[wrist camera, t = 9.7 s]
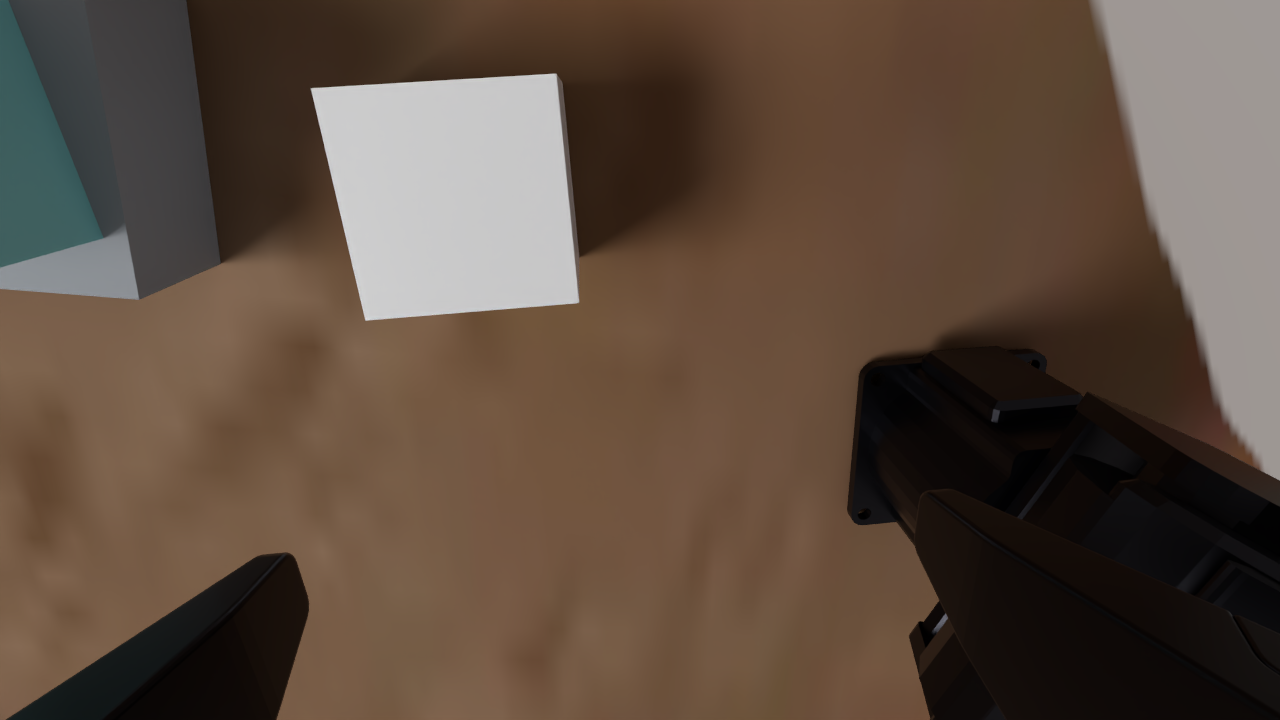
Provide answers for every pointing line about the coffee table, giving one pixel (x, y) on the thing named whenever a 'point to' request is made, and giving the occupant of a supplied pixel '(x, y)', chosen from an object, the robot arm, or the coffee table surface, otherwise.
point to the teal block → (34, 162)
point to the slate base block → (123, 144)
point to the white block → (454, 193)
